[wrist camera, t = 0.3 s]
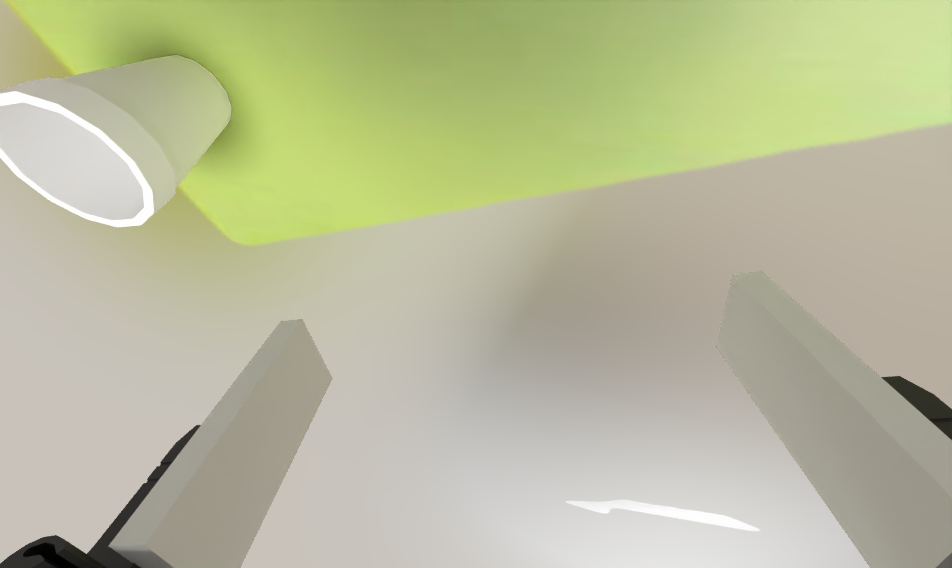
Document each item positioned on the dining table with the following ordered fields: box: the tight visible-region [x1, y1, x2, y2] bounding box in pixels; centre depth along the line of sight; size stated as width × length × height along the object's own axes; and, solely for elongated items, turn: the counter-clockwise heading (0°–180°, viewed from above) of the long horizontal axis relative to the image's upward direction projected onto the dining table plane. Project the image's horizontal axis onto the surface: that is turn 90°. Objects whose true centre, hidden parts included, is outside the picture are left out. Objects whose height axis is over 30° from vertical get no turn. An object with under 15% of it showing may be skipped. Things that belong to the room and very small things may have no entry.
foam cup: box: [0, 55, 232, 227], centre depth 29 cm, size 10×9×13 cm
